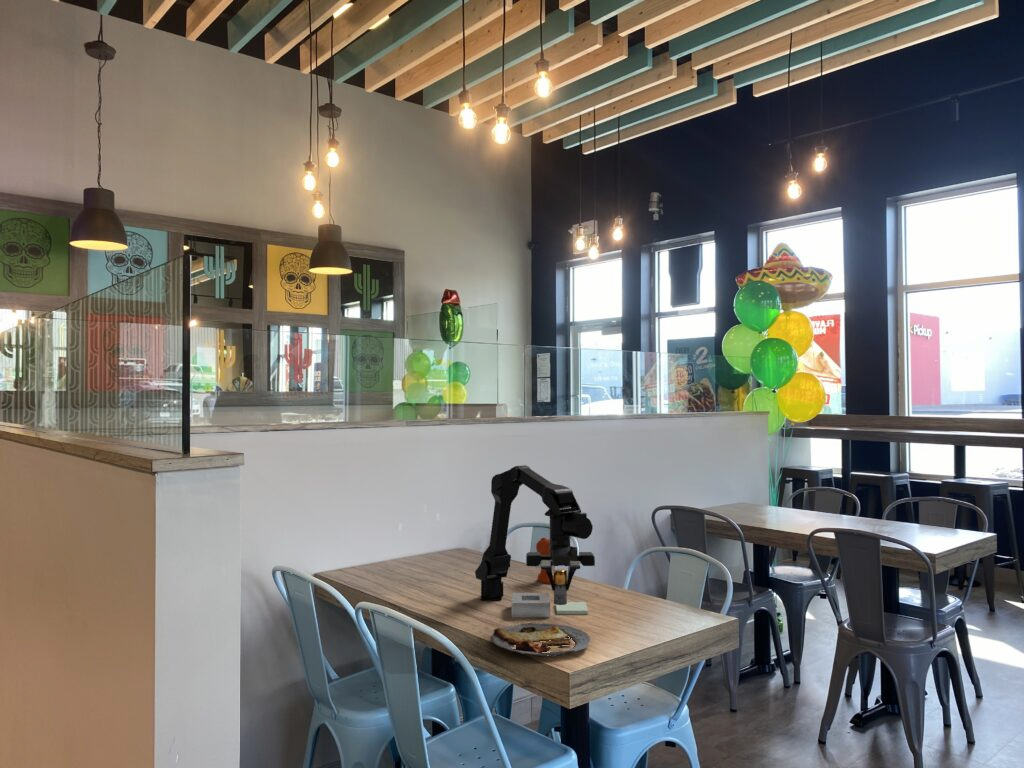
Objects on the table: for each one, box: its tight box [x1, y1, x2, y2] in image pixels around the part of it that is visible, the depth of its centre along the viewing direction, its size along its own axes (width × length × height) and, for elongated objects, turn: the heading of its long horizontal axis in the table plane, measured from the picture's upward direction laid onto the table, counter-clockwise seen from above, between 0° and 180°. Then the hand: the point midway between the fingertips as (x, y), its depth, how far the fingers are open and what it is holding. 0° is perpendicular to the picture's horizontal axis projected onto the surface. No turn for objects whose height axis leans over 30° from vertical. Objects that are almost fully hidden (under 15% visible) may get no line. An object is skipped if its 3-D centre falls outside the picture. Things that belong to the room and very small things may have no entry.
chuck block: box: [511, 592, 551, 618], centre depth 225 cm, size 11×11×4 cm
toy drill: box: [535, 537, 574, 585], centre depth 257 cm, size 5×19×15 cm, turn 36°
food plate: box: [490, 622, 591, 657], centre depth 196 cm, size 25×23×4 cm
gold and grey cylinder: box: [553, 568, 568, 606], centre depth 214 cm, size 4×4×9 cm
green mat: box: [555, 601, 589, 615], centre depth 227 cm, size 9×9×1 cm
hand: (560, 590), depth 214 cm, fingers closed on gold and grey cylinder, 4 cm apart
